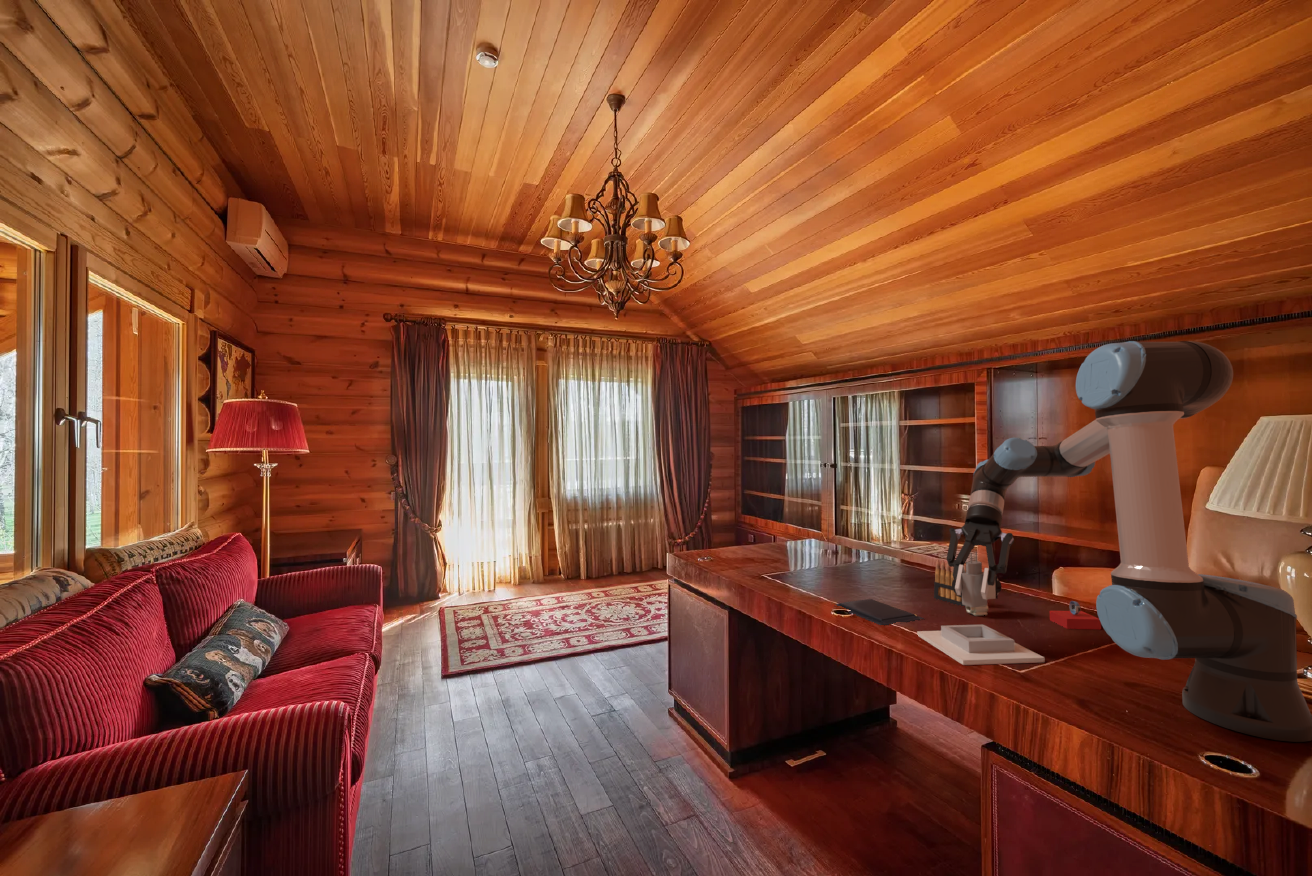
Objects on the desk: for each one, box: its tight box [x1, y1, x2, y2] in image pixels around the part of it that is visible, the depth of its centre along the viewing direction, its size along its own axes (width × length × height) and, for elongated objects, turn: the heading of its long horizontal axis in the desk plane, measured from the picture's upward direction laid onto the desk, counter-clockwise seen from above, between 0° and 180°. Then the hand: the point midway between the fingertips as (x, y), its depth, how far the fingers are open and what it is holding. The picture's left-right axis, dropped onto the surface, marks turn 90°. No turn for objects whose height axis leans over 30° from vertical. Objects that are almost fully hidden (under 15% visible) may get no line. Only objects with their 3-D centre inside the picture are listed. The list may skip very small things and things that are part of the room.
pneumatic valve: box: [952, 575, 1002, 617], centre depth 148 cm, size 6×12×12 cm, turn 98°
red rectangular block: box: [1049, 600, 1102, 631], centre depth 138 cm, size 8×7×6 cm
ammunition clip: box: [933, 558, 966, 608], centre depth 159 cm, size 11×2×12 cm, turn 24°
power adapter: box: [962, 551, 988, 607], centre depth 124 cm, size 3×5×12 cm, turn 116°
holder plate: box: [916, 624, 1046, 666], centre depth 123 cm, size 18×18×4 cm
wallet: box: [835, 598, 925, 627], centre depth 150 cm, size 20×2×15 cm
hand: (970, 593), depth 121 cm, fingers closed on power adapter, 4 cm apart
